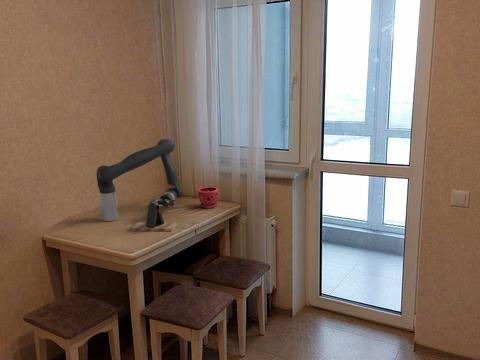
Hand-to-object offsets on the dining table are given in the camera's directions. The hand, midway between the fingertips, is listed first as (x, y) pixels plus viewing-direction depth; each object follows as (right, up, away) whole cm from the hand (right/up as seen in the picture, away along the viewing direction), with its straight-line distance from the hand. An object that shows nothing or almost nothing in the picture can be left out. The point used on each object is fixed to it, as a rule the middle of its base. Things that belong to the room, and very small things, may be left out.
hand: (158, 206), depth 246 cm
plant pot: (+27, -3, +32) cm, 42 cm away
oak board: (-1, -12, -9) cm, 15 cm away
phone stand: (0, -10, -9) cm, 13 cm away
